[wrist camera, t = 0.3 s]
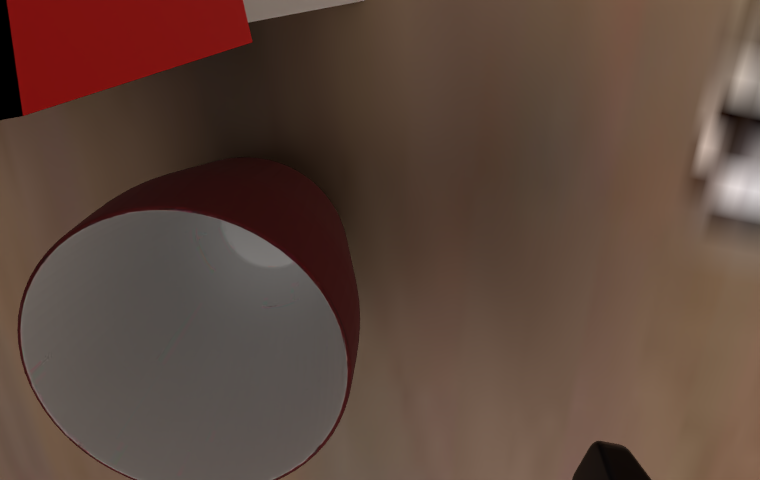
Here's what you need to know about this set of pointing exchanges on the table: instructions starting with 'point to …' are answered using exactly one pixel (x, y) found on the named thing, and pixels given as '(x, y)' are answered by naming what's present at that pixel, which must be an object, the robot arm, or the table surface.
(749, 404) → the table surface
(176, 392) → the mug
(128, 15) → the red-topped cereal carton
